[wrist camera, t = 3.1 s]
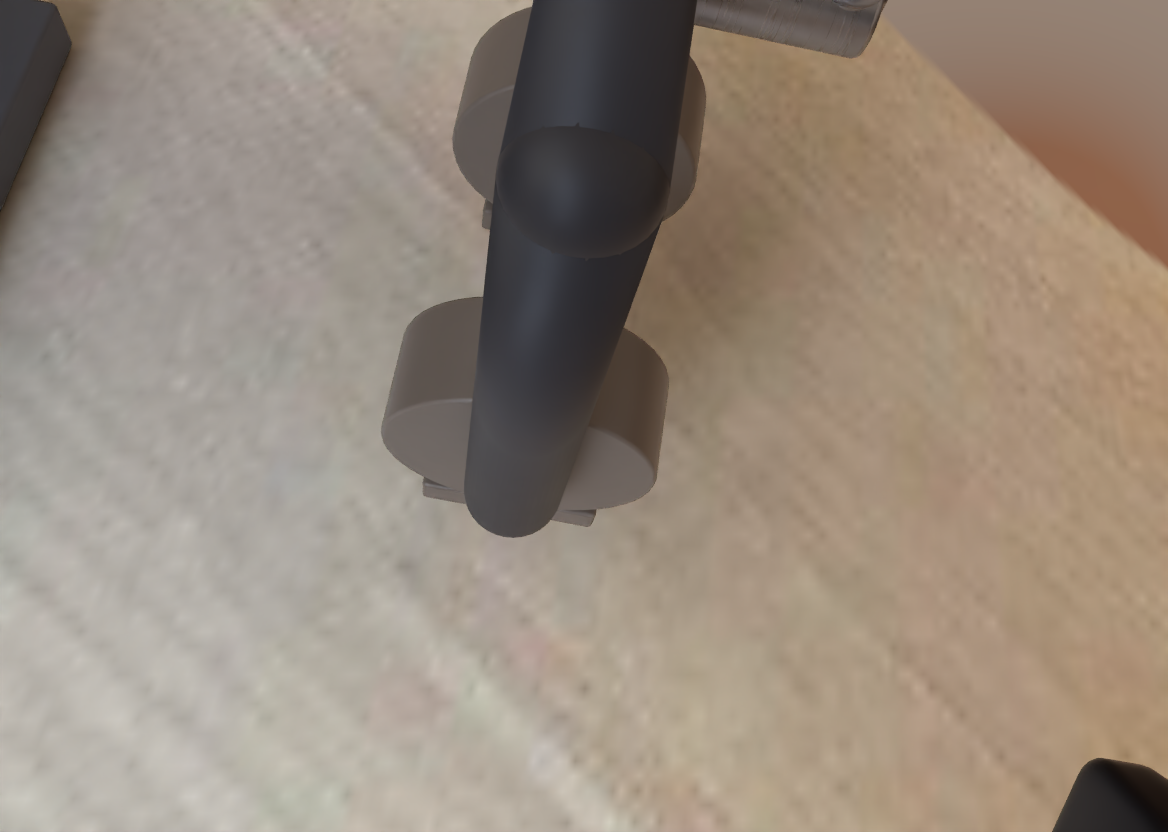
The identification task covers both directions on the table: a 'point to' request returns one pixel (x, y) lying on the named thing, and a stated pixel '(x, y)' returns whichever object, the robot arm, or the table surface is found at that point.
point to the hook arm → (797, 22)
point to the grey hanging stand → (26, 76)
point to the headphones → (555, 267)
